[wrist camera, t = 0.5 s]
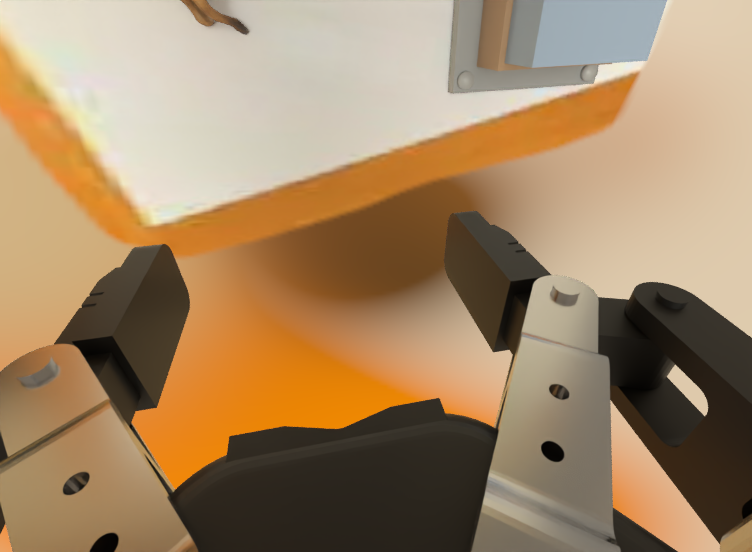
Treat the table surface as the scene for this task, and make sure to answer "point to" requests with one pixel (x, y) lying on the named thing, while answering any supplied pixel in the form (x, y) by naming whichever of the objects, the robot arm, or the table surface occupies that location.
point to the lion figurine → (212, 15)
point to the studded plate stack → (546, 41)
